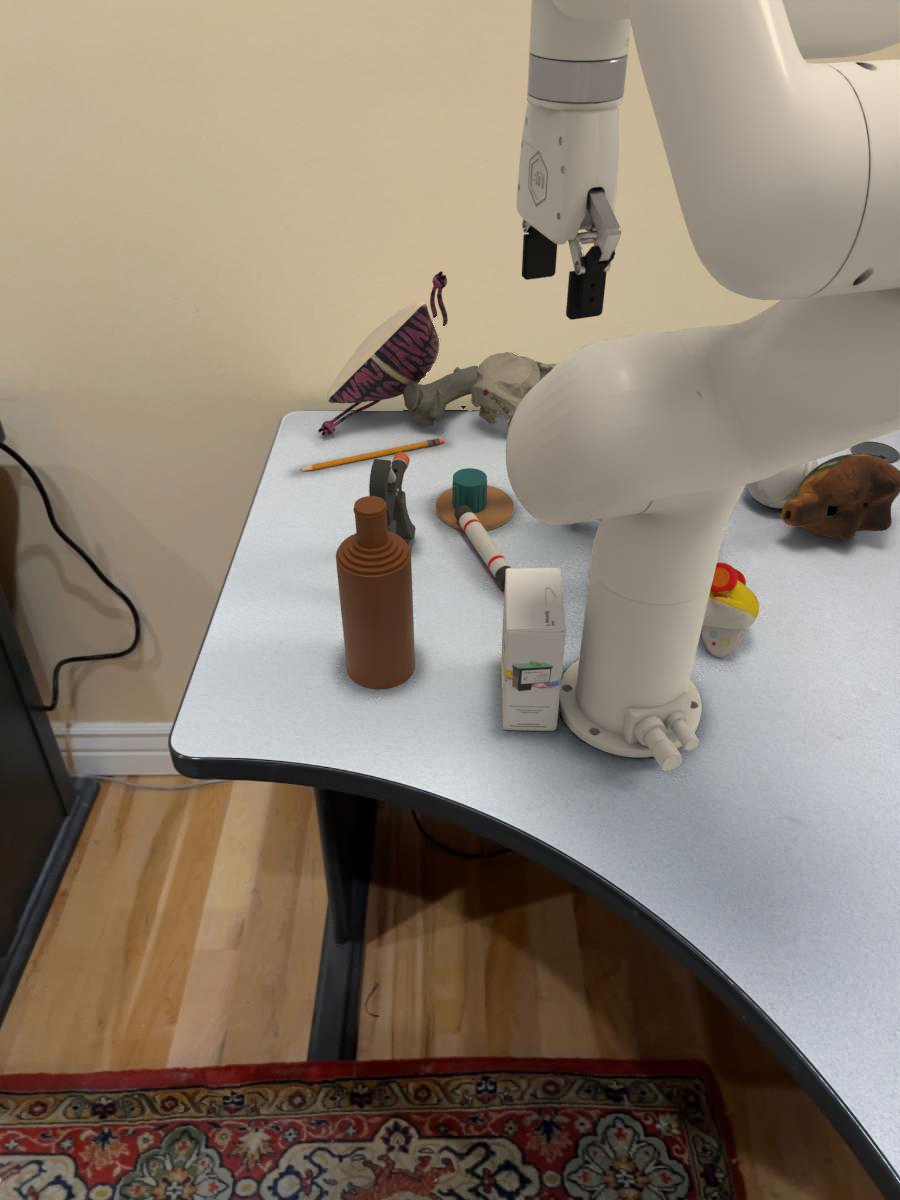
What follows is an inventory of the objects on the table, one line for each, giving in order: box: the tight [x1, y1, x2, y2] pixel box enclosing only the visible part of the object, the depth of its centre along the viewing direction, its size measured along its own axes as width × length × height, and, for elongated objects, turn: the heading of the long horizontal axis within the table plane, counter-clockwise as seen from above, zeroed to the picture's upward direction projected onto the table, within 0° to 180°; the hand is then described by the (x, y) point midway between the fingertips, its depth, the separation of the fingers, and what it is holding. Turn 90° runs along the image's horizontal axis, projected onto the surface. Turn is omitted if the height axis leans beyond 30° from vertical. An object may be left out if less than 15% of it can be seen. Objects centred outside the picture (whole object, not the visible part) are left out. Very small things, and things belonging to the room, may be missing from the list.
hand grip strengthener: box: [368, 452, 417, 541], centre depth 94 cm, size 2×12×15 cm, turn 169°
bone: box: [402, 365, 478, 427], centre depth 125 cm, size 22×6×6 cm, turn 137°
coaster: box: [435, 484, 515, 532], centre depth 107 cm, size 9×9×1 cm
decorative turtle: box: [781, 453, 900, 541], centre depth 100 cm, size 10×15×8 cm
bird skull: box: [470, 351, 557, 428], centre depth 125 cm, size 25×14×10 cm, turn 168°
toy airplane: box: [700, 562, 760, 658], centre depth 90 cm, size 13×9×15 cm
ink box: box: [500, 567, 567, 732], centre depth 80 cm, size 8×5×12 cm, turn 178°
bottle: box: [335, 495, 416, 690], centre depth 81 cm, size 6×6×18 cm
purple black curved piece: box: [317, 270, 449, 437], centre depth 123 cm, size 25×8×19 cm
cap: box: [451, 467, 488, 513], centre depth 106 cm, size 4×4×4 cm
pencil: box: [300, 437, 445, 471], centre depth 116 cm, size 19×1×1 cm, turn 112°
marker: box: [454, 505, 512, 590], centre depth 99 cm, size 15×2×2 cm, turn 22°
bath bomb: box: [745, 459, 819, 509], centre depth 106 cm, size 8×8×8 cm
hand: (560, 296), depth 83 cm, fingers open, 9 cm apart
